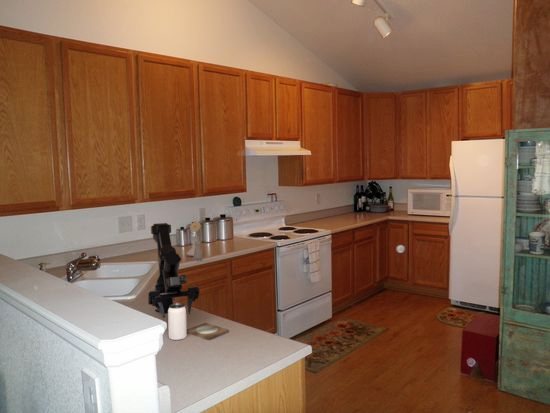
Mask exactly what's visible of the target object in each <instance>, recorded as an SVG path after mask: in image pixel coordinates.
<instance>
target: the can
mask: <svg viewBox="0 0 550 413" xmlns="http://www.w3.org/2000/svg"><path fill="white" fill-rule="evenodd" d="M185 305H186V304H184V303H173V304H172V305H170V306H169V309H168V312H167V319H168V320H167V322H168V323H167V324H168V326H167V327H168V339H169V340H171V341H182V340H184V339H185V338H187V335H188V333H187V329H188V328H187V309H186V307H185Z"/></svg>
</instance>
